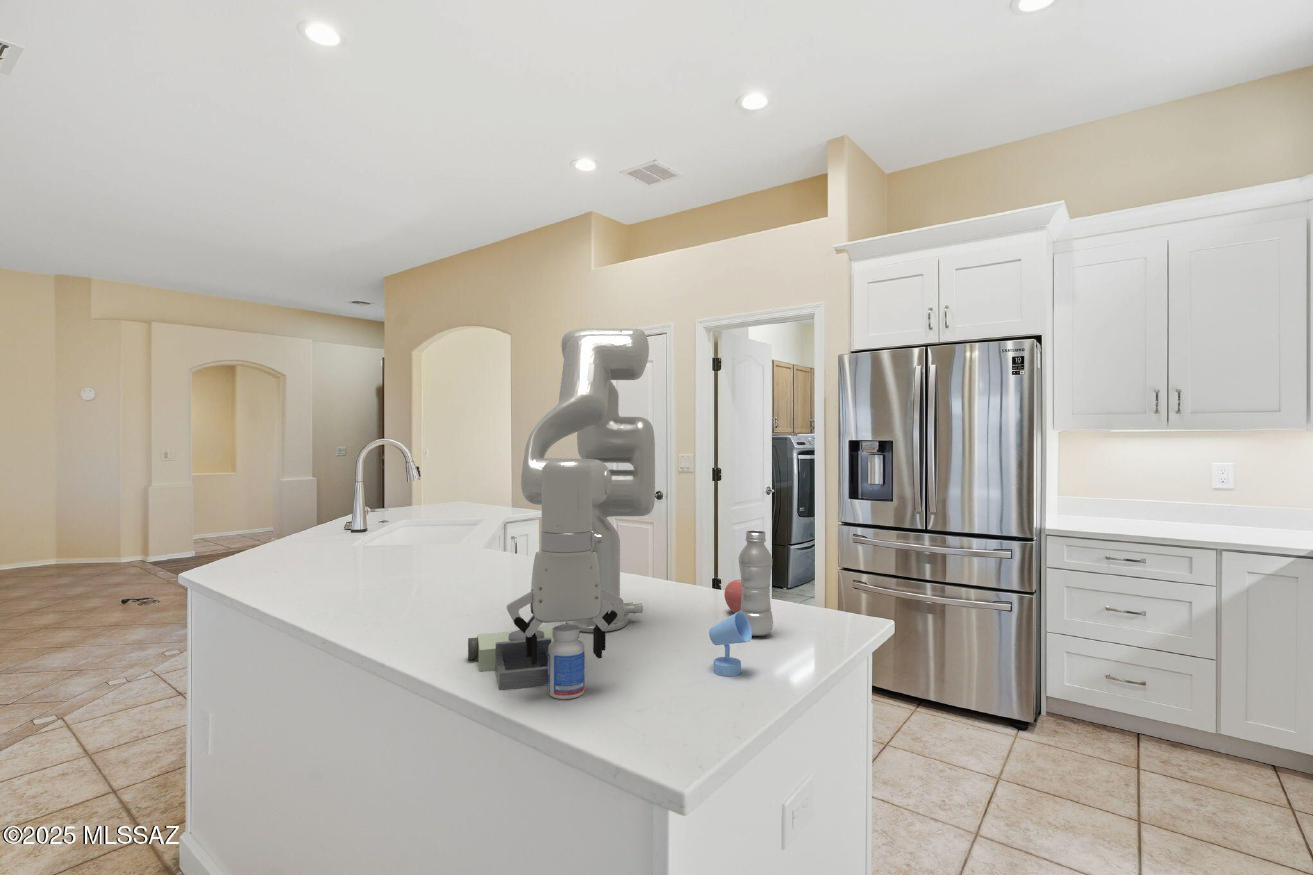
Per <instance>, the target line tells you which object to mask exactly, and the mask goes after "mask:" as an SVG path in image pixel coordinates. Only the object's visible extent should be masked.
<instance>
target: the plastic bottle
mask: <svg viewBox="0 0 1313 875" xmlns="http://www.w3.org/2000/svg"><path fill="white" fill-rule="evenodd" d="M745 542H746V544H745V546H744V547H743V548H742V549H741V551H740V553H739V555H738V567H739V572H740V573H739V574H740V580H741V585H742V596H741V609H740V612H742V613H743V614H744V615H745V616H746V617H747V619H748V620H749V623H750V625H751V629H752V636H753V637H763V636H764V637H765V636H767V635H770V634H771V632H772V631H773V627H774V617H773V613H772V606H771V597H770V593H771V590H770V587H771V574H772V568H773V558H772V557H773V556H772V554H771V553H770V550H769V549H768V547H767V546H766V545H765V543H766V542H767V539H766V531H763V530H747V531H746V532H745Z"/></svg>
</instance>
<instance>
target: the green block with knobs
mask: <svg viewBox="0 0 1313 875" xmlns="http://www.w3.org/2000/svg"><path fill="white" fill-rule="evenodd" d="M553 628H554V627H548V628H547V627H546V628H538V629H537V630H536V632H535V634H536V636H537V639H541V638H551V642H553V641H554V639H553ZM467 639H468V640H467V657H468V659H467V660H468V661H474V660H477V661H478V669H479V672H487V671H489V672H490V671H495V643H496V642H507V641H519V640H526V635H525V634H524V633H523V632H522V631H521V630H520V629H519V630H513V631H511V630H510V631H501V632H500V631H499V632H489V633H488V632H487V633H477V635H476V637H469V638H467Z"/></svg>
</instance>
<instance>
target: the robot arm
mask: <svg viewBox="0 0 1313 875" xmlns="http://www.w3.org/2000/svg"><path fill="white" fill-rule="evenodd" d="M649 344H650V343H649V339H648V336H647V334H646V333H645V331H643V330H642V329H640V328H599V327H598V328H595V327H594V328H590V327H589V328H577V329H572V330H570V331H567V332H566V333H564V335H563V336H562V339H561V345H560V347H561V353H562V357H563V364H562V370H561V371H562V372H561V380H560V381H561V382H560V388H559V395H558V397H559V398H558V402H557V403H558V404H556V406H554V407H553V408H552V409H550V410H549V411H548V412H547V413H546V414H545V415H544V416H543V417H542V418H541V419H540V420H539V421H538V423H537V424H535V426H534V428H533V430H532V431H531V432H530V434H529V435H528V436H529V437H527V441H526V445H525V450H524V455H523V461H522V468H521V475H520V476H521V479H520V480H521V481H520V487H521V493H522V495H523V497H524V498H525V500H526V501H528V503H529V504H532V505H538V506H541V532H540V533H541V535H540V542H541V543H540V551H537V552H535V555H534V559H533V566H532V573H531V574H532V575H531V586H530V591H529V592H527V593H526V594H524V595H522V596H520V597H519V598H517V599H514V601H511V602H510V603H508V604H507V605H506V610H507V613H508V614H509V616H510V618H511V620H512V622H513V624H514V626H516V628H518V629H519V630H521V631H522V632H523V633H524V634H525V635H526V642H525V654H526V657H530V661H531V664H532V665H533V664H536V663H537V636H536V634H535V632H536V630H537V629H540V626H541V625H542V624H543V623H544V624H545V623H563V622H565V624H572V625H577V626H579V629H580V632H582V633H592V634H593V635H592V637H593V638H592V640H593V641H592V652H593V655H594V656H595V657H596V659H602V658H603V651H606V642H607V641H606V639H607V638H606V634H607V633H606V632H612V631H617V630H620V629H623V628H624V627H626V625H628V617H627V616H629V614H634V615H635V614H642V613H643V611H644V607H643V606H644V605H643V604H642V602H641V603H634V602H627V603H624V599H622V597H621V539H620V535H619V533H618V530H617V529H616V528H615V527H614V525H613V524H612V523H611V522H610V520H609V519H608V518H609V517H610V518H613V517H645V516H649V515H650V514H651V513H652V512H653V509H654V507H655V502H656V440H655V432H654V427H653V424H652V423H651V421H650V420H648V419H647V418H645V417H641V416H620V413H619V412H620V411H619V406H620V405H619V399H620V398H619V396H620V395H619V391H618V389H617V388H616V386H615V384H614V383H613V382H612V381H636V380H639V379H641V377H643V375H644V373H645V370H646V367H647V364H648V361H649V355H650V345H649ZM575 433H576V435H577V436H576V444H577V446H576V447H577V453H578V456H579V457H580V458H573V457H572V458H568V457H567V458H553V457H552V458H551V457H550V458H549V457H548V458H547V457H546V458H545V456H546V454H547V452H548V450H549V449H551V447H552V446H553V445H554V444H556V443H557V442H559V441H560V440H562V439H564V438H566V437H569V436H570V435H573V434H575ZM608 463H610V464H612V463H613V464H615V463H616V464H619V463H620V464H630V465H631V466H632V467H633V469H613V468H611V469H609V468H608V466H607V465H606V464H608ZM528 605H530V612H531V614H532V616H530V618H529V619H528V620H527V621H526V620H525V619H524V618H523V617H521V614H520V613H519V612H520V610H521V609H522V608H524V607H526V606H528Z"/></svg>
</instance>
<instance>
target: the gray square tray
mask: <svg viewBox="0 0 1313 875" xmlns="http://www.w3.org/2000/svg"><path fill="white" fill-rule="evenodd" d="M525 642H526V640H519V641H507V642H496V643H495V670H494V671H495V675H496V680H497V684H498V690H499V691H502V690H511V689H514V690H515V689H522V688H532V687H541V686H548V647H549V645H550V643H551V638H541V639H537V663H536V664H533V665H532V664H531V661H530V657H526V654H525Z"/></svg>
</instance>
